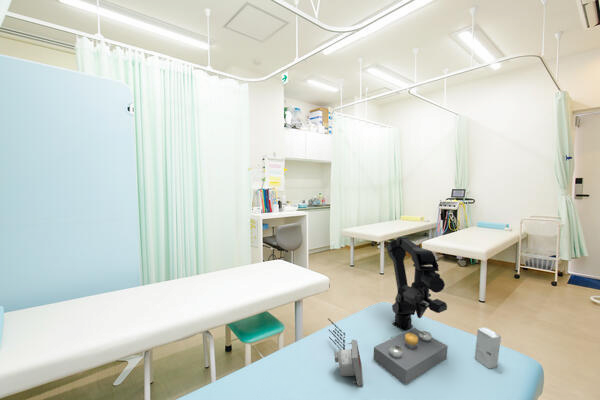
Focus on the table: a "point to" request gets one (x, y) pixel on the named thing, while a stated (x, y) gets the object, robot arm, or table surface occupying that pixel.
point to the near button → (395, 351)
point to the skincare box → (487, 347)
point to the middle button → (411, 340)
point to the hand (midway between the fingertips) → (419, 317)
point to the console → (410, 356)
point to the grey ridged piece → (348, 359)
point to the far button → (425, 336)
